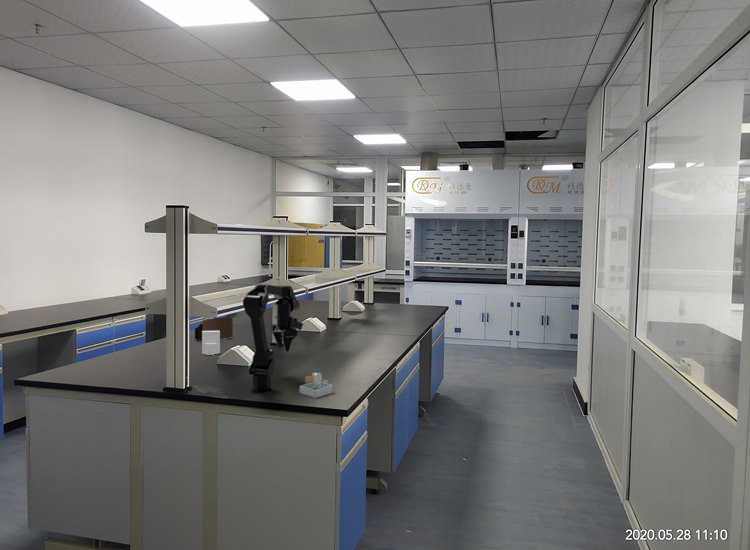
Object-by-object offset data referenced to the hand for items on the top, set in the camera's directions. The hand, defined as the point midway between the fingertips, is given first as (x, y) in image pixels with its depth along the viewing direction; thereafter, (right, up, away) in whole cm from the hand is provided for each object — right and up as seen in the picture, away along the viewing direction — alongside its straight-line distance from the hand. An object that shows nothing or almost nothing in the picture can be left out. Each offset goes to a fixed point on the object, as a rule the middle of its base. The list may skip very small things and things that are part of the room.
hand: (283, 349), depth 231 cm
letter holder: (-57, -7, +86) cm, 103 cm away
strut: (+16, -13, -22) cm, 30 cm away
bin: (+17, -14, -22) cm, 31 cm away
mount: (+15, -13, -9) cm, 22 cm away
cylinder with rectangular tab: (-46, -9, +47) cm, 66 cm away
